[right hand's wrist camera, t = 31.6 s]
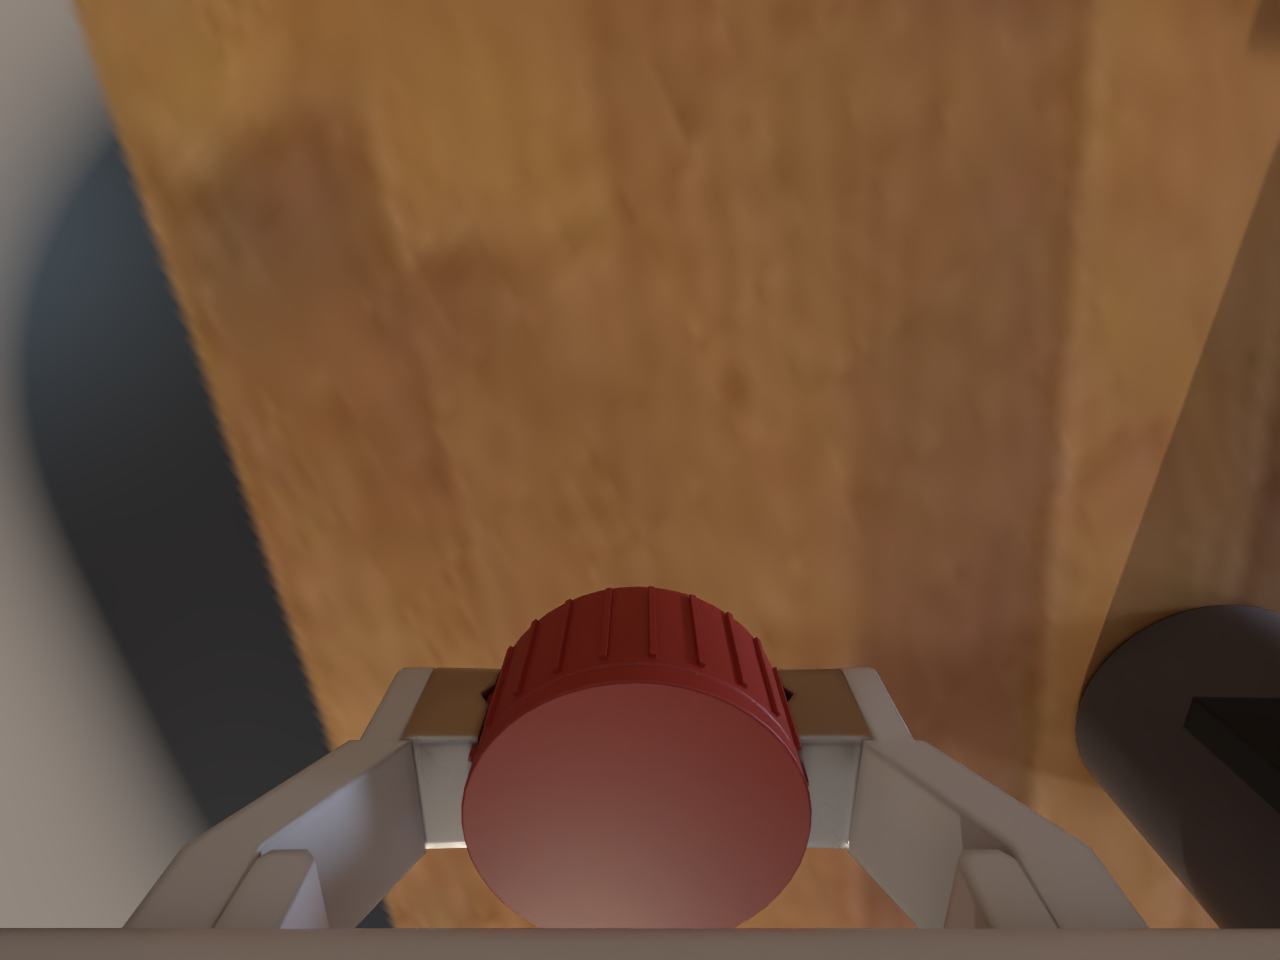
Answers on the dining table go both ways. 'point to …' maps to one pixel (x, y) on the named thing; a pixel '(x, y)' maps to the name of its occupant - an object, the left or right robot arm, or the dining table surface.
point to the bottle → (1189, 755)
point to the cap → (637, 769)
